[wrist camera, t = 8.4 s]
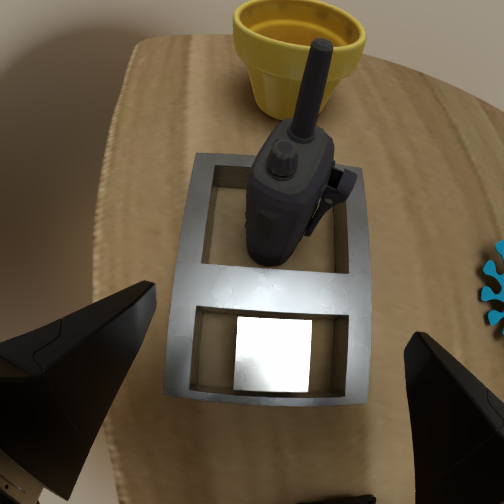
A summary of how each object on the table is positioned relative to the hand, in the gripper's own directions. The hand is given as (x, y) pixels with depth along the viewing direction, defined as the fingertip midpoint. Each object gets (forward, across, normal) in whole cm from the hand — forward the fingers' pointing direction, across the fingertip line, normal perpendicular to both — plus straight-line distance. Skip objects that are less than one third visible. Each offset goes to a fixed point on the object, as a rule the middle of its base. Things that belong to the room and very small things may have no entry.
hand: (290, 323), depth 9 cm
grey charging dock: (+10, 0, +5) cm, 11 cm away
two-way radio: (+12, 0, +3) cm, 13 cm away
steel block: (+7, 0, +8) cm, 11 cm away
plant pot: (+23, +2, -8) cm, 24 cm away
